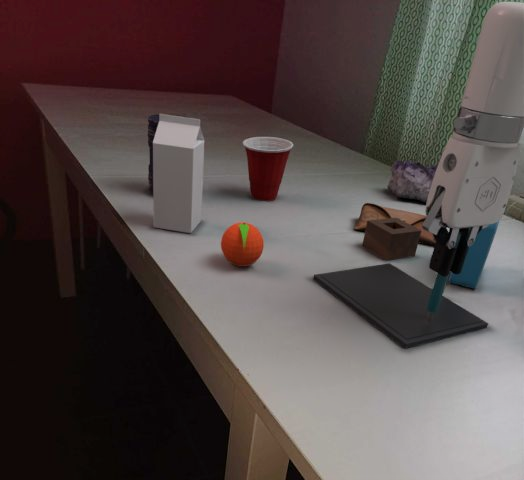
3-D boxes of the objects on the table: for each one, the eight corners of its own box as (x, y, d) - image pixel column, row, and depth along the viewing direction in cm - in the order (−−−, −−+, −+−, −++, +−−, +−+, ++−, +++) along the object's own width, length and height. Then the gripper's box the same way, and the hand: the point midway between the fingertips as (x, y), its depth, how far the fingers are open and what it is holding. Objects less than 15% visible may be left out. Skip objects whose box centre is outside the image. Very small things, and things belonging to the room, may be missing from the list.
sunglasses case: (353, 228, 107) (361, 195, 107) (354, 236, 114) (362, 205, 114) (444, 247, 104) (453, 213, 103) (440, 253, 111) (448, 221, 110)
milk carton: (191, 234, 98) (194, 122, 87) (153, 228, 98) (152, 117, 88) (201, 221, 104) (205, 116, 93) (165, 216, 104) (166, 110, 94)
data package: (453, 261, 99) (473, 196, 93) (478, 266, 98) (500, 202, 92) (447, 285, 90) (469, 215, 83) (475, 292, 89) (499, 221, 82)
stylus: (429, 315, 78) (455, 229, 71) (436, 320, 77) (464, 233, 70) (421, 317, 77) (447, 230, 70) (429, 322, 76) (456, 234, 69)
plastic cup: (228, 193, 121) (232, 137, 114) (263, 187, 127) (269, 134, 121) (261, 207, 114) (267, 149, 108) (296, 200, 121) (304, 145, 115)
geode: (464, 198, 137) (479, 160, 130) (469, 218, 128) (485, 178, 122) (385, 184, 138) (396, 145, 132) (384, 202, 130) (396, 162, 123)
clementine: (263, 277, 85) (268, 234, 81) (219, 274, 84) (222, 231, 81) (260, 257, 92) (264, 216, 88) (219, 254, 91) (221, 213, 87)
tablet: (388, 267, 94) (389, 262, 93) (487, 328, 78) (489, 322, 78) (313, 279, 87) (313, 273, 86) (404, 348, 71) (406, 343, 70)
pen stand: (390, 242, 104) (396, 217, 102) (414, 256, 100) (421, 230, 97) (361, 245, 101) (367, 220, 99) (385, 260, 96) (392, 234, 94)
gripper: (465, 135, 57) (420, 291, 67) (557, 134, 64) (504, 275, 74) (417, 120, 62) (382, 267, 72) (506, 121, 69) (463, 254, 79)
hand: (444, 270), depth 73 cm, fingers closed on stylus, 1 cm apart
